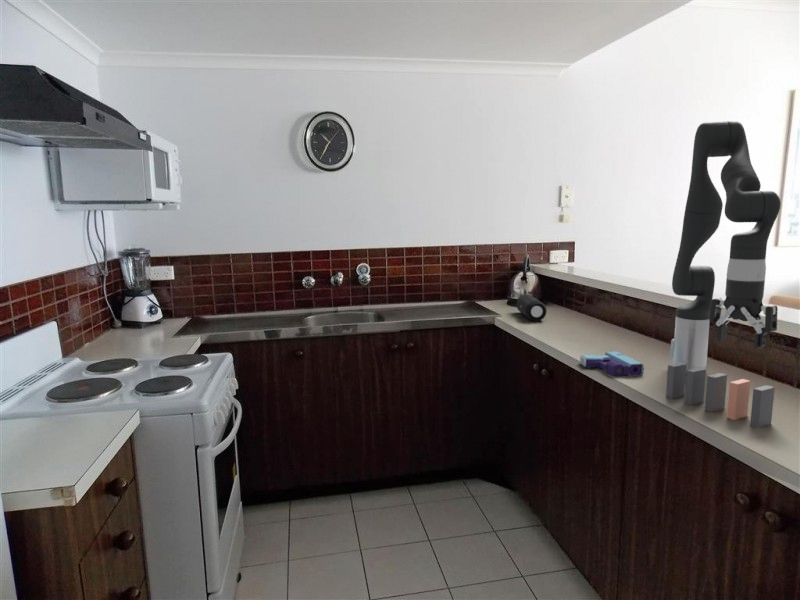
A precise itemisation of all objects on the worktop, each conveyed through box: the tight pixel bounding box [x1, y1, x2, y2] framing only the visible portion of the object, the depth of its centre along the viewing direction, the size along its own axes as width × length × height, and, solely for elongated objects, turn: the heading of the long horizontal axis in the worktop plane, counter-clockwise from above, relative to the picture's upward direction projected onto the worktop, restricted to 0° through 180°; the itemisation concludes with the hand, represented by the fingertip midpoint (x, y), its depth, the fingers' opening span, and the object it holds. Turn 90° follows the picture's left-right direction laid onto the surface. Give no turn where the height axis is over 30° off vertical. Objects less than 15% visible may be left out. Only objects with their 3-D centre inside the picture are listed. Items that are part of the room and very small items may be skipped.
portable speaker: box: [516, 293, 548, 322], centre depth 250 cm, size 26×10×10 cm, turn 179°
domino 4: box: [726, 378, 751, 421], centre depth 124 cm, size 2×5×9 cm, turn 116°
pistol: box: [579, 350, 645, 377], centre depth 164 cm, size 4×16×15 cm
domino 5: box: [749, 384, 775, 429], centre depth 119 cm, size 2×5×9 cm, turn 116°
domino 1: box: [665, 362, 687, 400], centre depth 139 cm, size 2×5×9 cm, turn 116°
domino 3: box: [704, 372, 728, 413], centre depth 129 cm, size 2×5×9 cm, turn 116°
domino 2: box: [684, 367, 707, 406], centre depth 134 cm, size 2×5×9 cm, turn 116°
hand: (739, 344), depth 123 cm, fingers open, 8 cm apart
